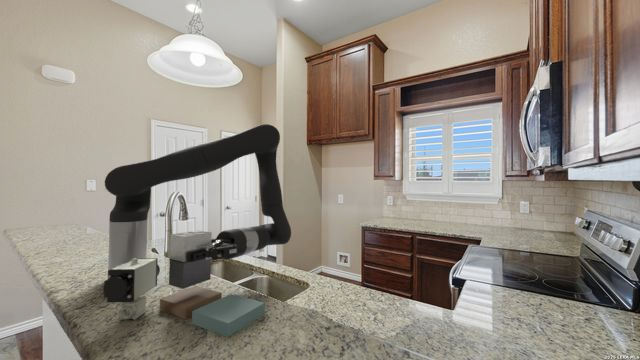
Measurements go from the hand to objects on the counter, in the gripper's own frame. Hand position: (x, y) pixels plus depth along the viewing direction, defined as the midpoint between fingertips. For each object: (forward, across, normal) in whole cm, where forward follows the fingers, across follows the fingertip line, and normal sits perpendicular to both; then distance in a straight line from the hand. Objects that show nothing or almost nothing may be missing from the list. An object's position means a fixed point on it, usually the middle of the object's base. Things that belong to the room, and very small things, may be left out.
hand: (180, 255), depth 59 cm
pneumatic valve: (+6, -7, +12) cm, 15 cm away
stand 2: (-3, +12, +12) cm, 17 cm away
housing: (-3, 0, +6) cm, 7 cm away
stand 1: (-3, 0, +12) cm, 12 cm away
